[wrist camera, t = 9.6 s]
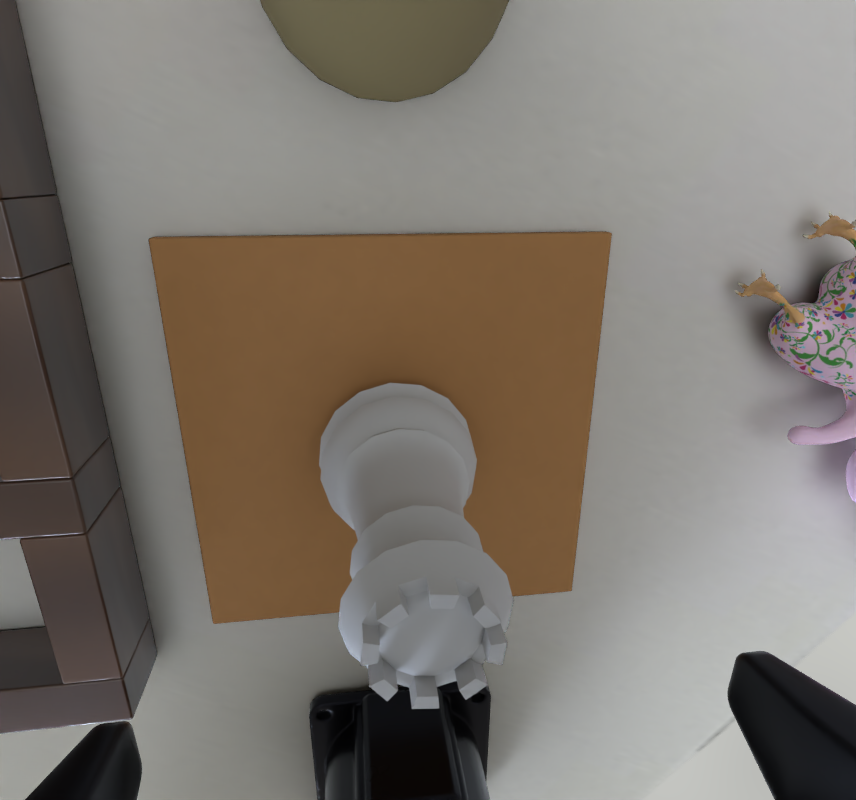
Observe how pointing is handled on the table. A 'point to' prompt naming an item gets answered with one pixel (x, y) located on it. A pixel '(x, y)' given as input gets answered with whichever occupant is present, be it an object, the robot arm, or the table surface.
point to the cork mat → (371, 367)
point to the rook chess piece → (413, 544)
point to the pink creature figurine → (821, 340)
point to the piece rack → (57, 453)
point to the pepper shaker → (386, 41)
